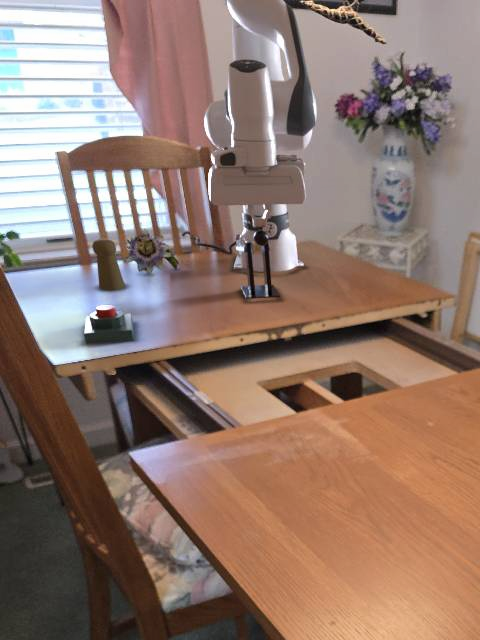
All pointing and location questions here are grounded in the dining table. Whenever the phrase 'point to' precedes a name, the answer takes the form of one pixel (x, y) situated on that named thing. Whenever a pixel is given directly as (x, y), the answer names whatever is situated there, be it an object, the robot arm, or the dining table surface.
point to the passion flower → (149, 252)
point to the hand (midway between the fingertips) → (260, 226)
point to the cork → (107, 265)
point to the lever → (259, 242)
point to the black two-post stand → (251, 289)
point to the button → (105, 311)
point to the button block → (108, 328)
